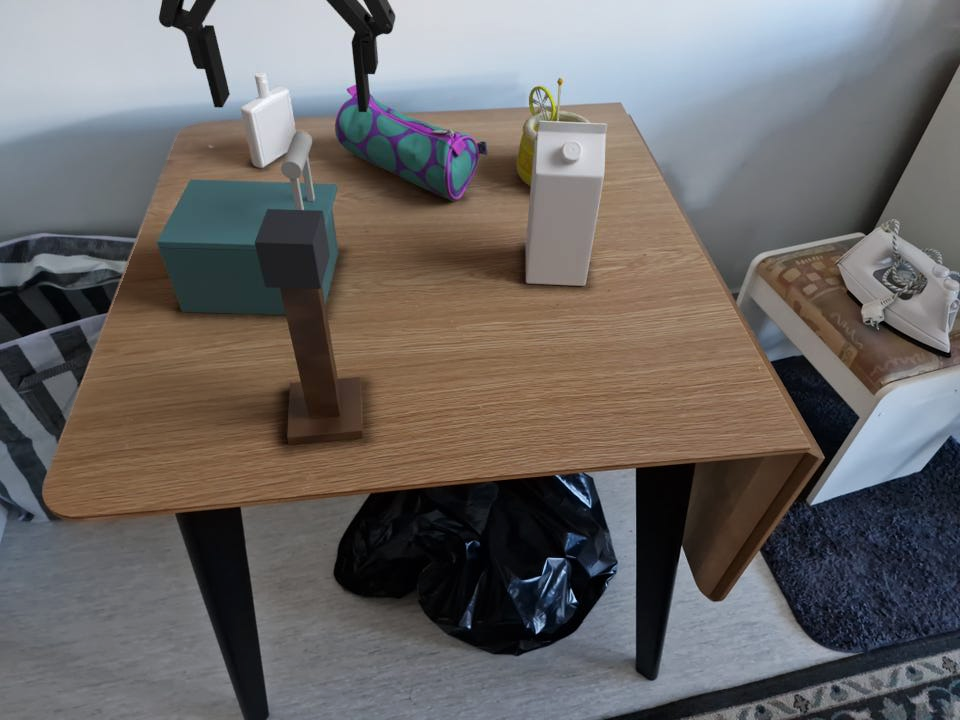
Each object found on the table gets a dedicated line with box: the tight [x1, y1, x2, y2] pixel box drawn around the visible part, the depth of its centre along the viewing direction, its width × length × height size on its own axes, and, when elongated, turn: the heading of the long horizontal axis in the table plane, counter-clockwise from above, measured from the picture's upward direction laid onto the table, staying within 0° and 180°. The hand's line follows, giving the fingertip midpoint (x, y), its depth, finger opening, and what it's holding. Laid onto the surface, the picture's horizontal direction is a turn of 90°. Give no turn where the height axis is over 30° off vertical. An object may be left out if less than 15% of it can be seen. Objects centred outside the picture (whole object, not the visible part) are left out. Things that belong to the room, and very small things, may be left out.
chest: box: [158, 209, 340, 316], centre depth 82 cm, size 16×12×9 cm
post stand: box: [280, 287, 364, 446], centre depth 65 cm, size 7×7×18 cm
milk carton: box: [525, 121, 608, 287], centre depth 82 cm, size 7×7×19 cm
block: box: [255, 209, 330, 289], centre depth 57 cm, size 4×4×4 cm
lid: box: [156, 130, 338, 250], centre depth 76 cm, size 17×12×9 cm
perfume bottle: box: [240, 71, 297, 169], centre depth 101 cm, size 8×2×12 cm, turn 149°
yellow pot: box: [516, 77, 591, 187], centre depth 99 cm, size 13×11×12 cm
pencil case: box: [334, 84, 488, 202], centre depth 99 cm, size 21×9×10 cm, turn 54°
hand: (293, 103), depth 69 cm, fingers open, 13 cm apart
